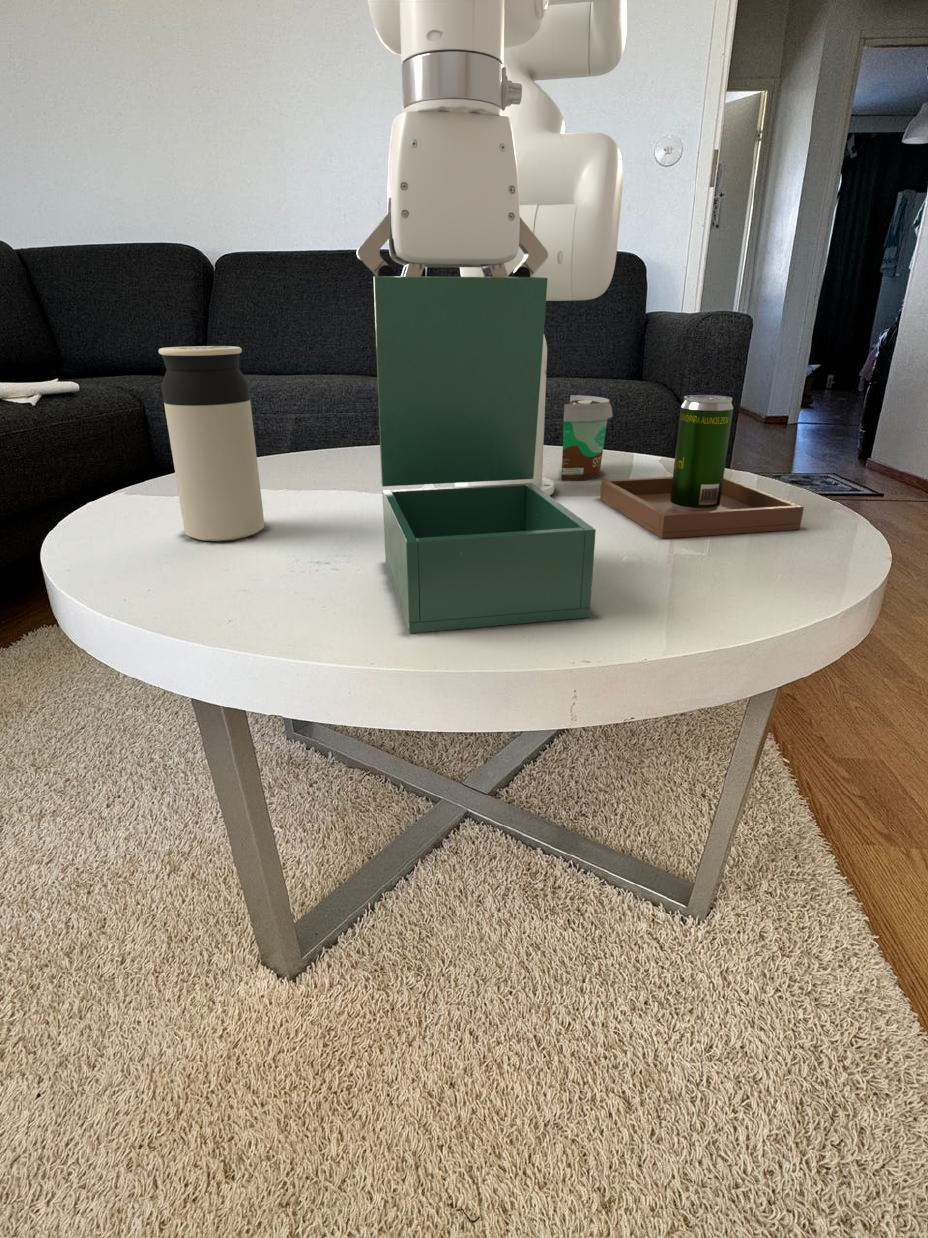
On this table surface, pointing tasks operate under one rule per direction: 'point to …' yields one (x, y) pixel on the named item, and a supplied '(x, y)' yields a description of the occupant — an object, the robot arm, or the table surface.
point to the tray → (734, 515)
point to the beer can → (701, 452)
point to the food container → (584, 436)
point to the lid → (458, 377)
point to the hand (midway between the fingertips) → (454, 352)
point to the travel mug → (212, 442)
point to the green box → (486, 556)
